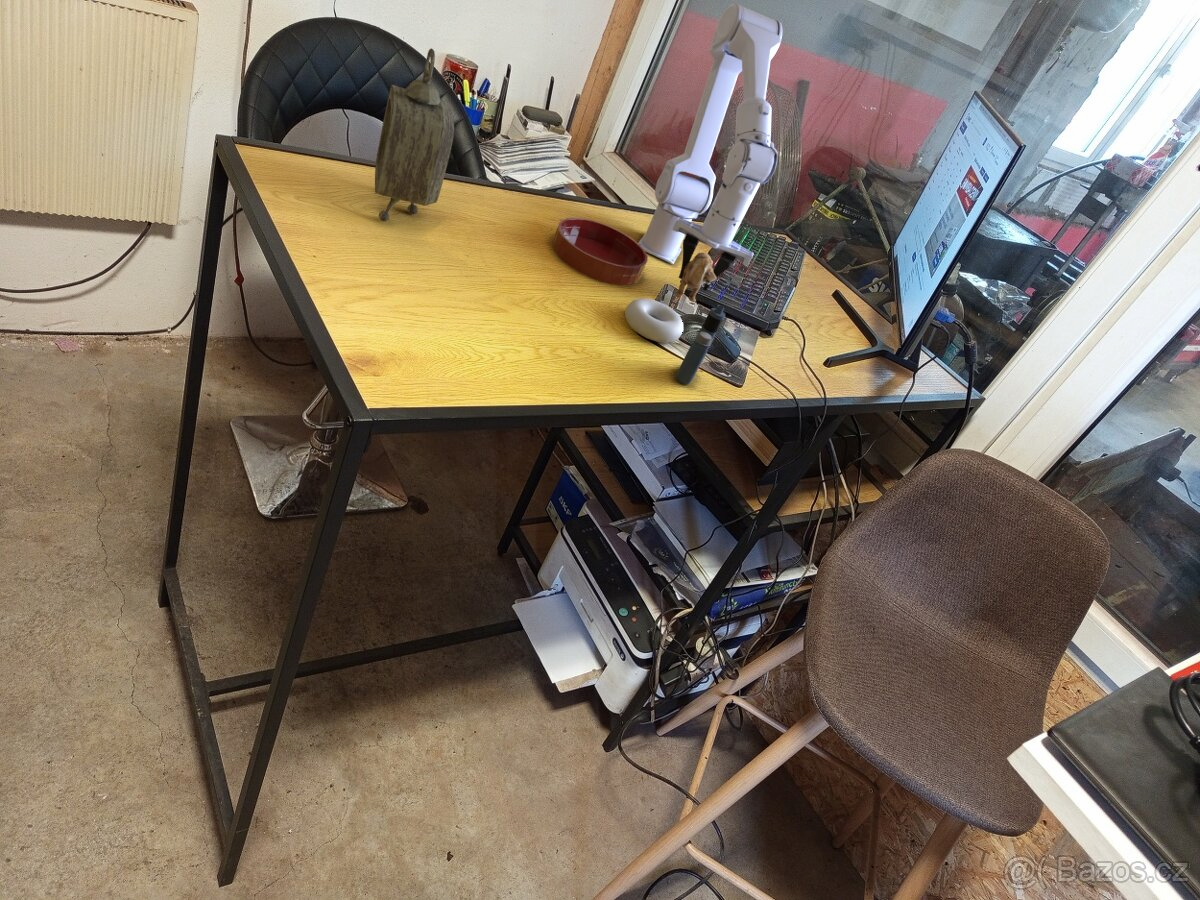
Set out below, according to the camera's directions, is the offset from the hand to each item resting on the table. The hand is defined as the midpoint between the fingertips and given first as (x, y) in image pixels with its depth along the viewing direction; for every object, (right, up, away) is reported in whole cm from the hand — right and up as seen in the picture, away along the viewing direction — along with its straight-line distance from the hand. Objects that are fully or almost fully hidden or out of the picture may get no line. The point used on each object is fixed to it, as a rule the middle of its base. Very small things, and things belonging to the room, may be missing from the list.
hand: (693, 282), depth 139 cm
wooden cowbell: (-49, +9, -13) cm, 52 cm away
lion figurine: (-1, -2, 0) cm, 2 cm away
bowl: (-17, +4, +1) cm, 18 cm away
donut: (-9, -10, -13) cm, 19 cm away
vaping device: (-4, -19, -21) cm, 29 cm away
